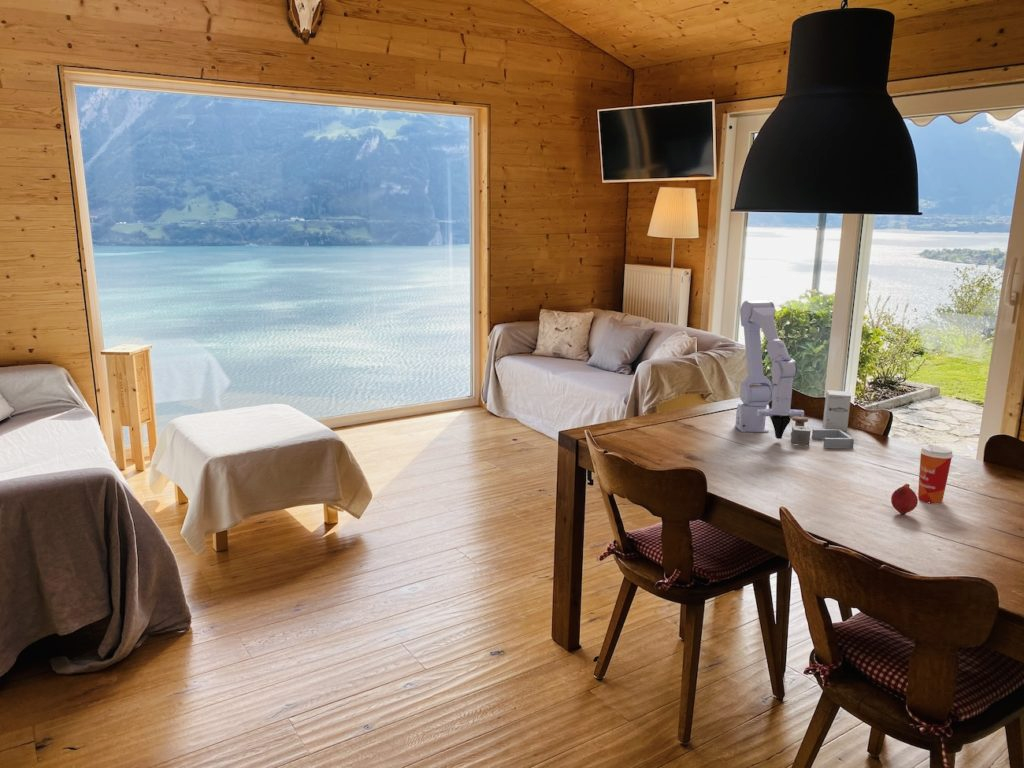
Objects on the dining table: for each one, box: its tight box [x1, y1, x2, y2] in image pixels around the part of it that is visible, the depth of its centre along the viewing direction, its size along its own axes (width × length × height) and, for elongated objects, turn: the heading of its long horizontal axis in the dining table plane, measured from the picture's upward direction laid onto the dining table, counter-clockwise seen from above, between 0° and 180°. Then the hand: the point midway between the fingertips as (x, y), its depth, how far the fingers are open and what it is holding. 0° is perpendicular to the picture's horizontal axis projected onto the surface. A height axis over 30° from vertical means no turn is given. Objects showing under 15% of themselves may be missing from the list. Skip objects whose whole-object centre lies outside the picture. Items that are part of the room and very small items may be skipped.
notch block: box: [811, 428, 855, 449], centre depth 249 cm, size 9×11×3 cm
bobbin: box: [790, 416, 809, 436], centre depth 256 cm, size 5×5×6 cm
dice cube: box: [790, 425, 812, 447], centre depth 248 cm, size 5×5×5 cm
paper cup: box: [917, 444, 954, 504], centre depth 199 cm, size 8×8×14 cm
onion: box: [890, 483, 919, 515], centre depth 190 cm, size 6×6×8 cm
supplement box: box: [822, 389, 852, 432], centre depth 265 cm, size 7×7×13 cm
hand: (778, 437), depth 249 cm, fingers closed
